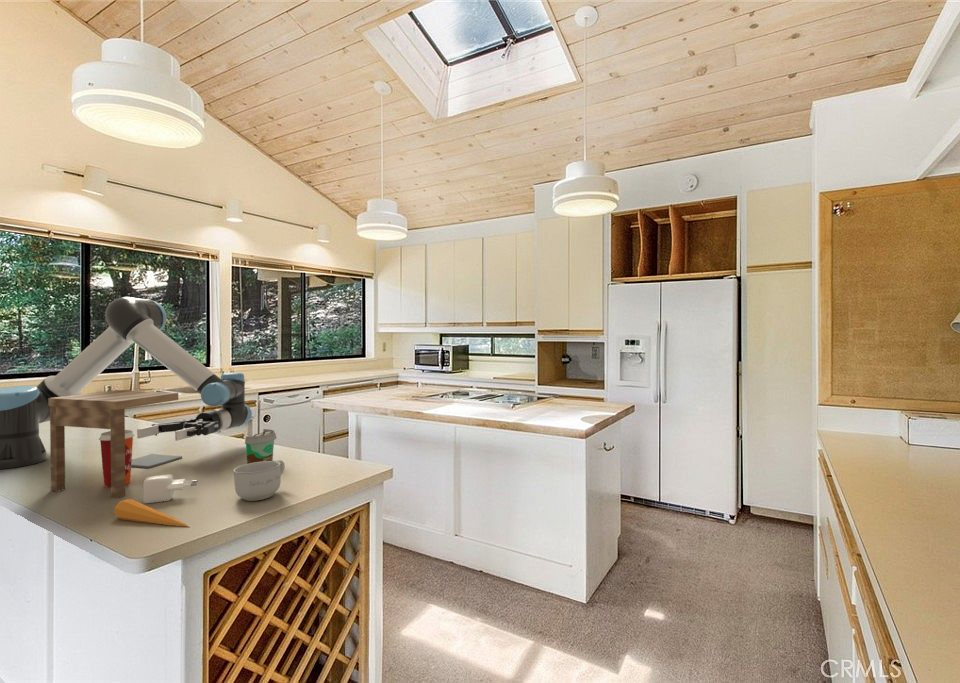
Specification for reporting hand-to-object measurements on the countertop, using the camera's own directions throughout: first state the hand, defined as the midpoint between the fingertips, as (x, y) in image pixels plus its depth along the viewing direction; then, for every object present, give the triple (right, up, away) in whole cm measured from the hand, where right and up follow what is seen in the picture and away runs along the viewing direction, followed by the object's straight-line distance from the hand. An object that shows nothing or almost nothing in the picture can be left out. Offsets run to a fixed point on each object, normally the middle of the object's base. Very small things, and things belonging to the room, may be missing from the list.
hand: (156, 434), depth 141 cm
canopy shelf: (-3, -11, -11) cm, 16 cm away
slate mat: (-9, -11, +11) cm, 18 cm away
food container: (+28, -11, +8) cm, 31 cm away
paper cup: (-3, -11, -11) cm, 16 cm away
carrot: (+24, -12, -37) cm, 46 cm away
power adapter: (+19, -12, -22) cm, 31 cm away
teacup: (+40, -12, -19) cm, 46 cm away
